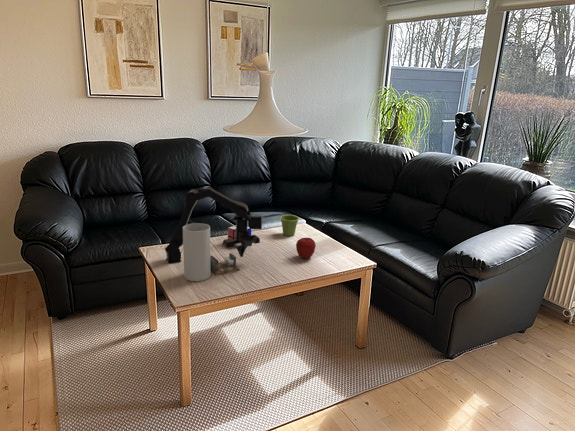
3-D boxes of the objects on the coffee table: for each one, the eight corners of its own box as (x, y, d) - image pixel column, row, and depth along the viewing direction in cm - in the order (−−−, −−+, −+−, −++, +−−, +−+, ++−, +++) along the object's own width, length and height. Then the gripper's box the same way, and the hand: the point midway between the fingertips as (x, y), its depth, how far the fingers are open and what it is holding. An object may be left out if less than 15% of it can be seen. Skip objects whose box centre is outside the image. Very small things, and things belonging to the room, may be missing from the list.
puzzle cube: (239, 248, 244) (240, 231, 241) (227, 243, 250) (227, 227, 247) (251, 243, 252) (251, 227, 249) (239, 239, 257) (239, 223, 255)
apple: (304, 252, 242) (306, 232, 238) (319, 258, 235) (320, 238, 231) (291, 256, 234) (292, 236, 231) (305, 262, 227) (306, 242, 224)
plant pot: (275, 234, 269) (276, 217, 266) (287, 230, 278) (288, 213, 274) (290, 239, 262) (290, 221, 258) (301, 234, 270) (302, 217, 267)
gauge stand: (215, 275, 207) (215, 264, 205) (206, 266, 217) (205, 255, 215) (239, 270, 214) (239, 259, 212) (229, 262, 223) (229, 251, 222)
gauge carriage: (232, 269, 211) (232, 261, 210) (223, 262, 219) (223, 254, 218) (239, 268, 213) (239, 259, 212) (231, 261, 221) (231, 253, 220)
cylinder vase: (212, 280, 202) (211, 230, 195) (185, 283, 198) (183, 232, 191) (209, 270, 213) (208, 222, 206) (183, 272, 210) (181, 223, 202)
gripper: (231, 235, 205) (231, 265, 209) (265, 230, 214) (264, 259, 219) (222, 229, 214) (222, 257, 218) (255, 224, 223) (254, 251, 228)
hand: (241, 256), depth 220 cm, fingers closed
